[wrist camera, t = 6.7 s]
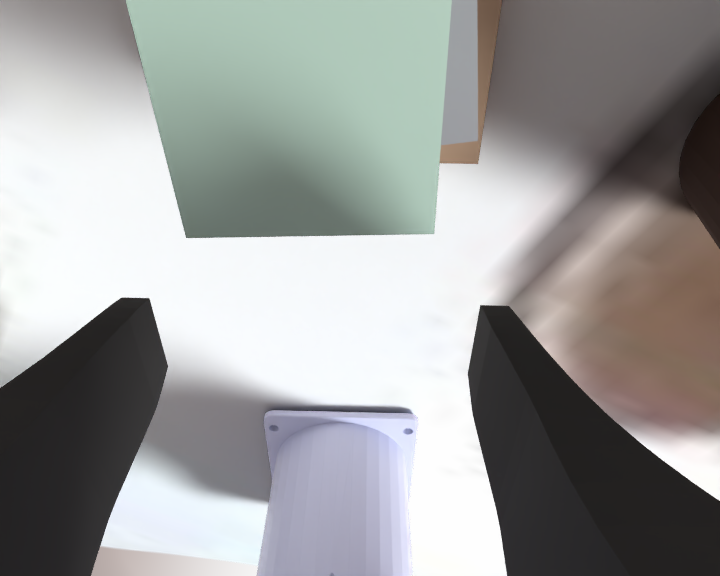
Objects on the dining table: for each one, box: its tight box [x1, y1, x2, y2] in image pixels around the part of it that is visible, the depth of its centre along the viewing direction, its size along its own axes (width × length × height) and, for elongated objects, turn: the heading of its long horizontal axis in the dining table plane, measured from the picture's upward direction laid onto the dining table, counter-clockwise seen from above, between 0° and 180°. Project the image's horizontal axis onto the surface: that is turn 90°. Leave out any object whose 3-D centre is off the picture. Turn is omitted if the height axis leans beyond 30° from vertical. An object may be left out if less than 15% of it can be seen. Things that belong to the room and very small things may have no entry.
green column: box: [126, 0, 452, 238], centre depth 11 cm, size 4×4×6 cm
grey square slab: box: [441, 0, 478, 145], centre depth 14 cm, size 7×7×2 cm
